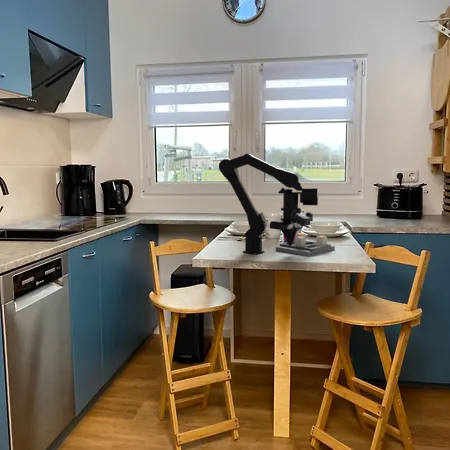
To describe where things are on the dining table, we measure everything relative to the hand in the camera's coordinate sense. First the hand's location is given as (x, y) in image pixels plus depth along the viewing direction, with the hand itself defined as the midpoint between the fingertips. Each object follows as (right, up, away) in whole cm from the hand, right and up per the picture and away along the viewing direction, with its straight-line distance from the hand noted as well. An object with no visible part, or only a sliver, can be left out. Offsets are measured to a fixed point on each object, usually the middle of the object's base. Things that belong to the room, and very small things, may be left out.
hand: (290, 245), depth 178 cm
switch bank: (+7, -2, +7) cm, 11 cm away
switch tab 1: (+6, 0, +13) cm, 15 cm away
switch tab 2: (+5, -1, +5) cm, 7 cm away
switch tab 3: (+14, -1, +6) cm, 15 cm away
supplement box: (+5, 0, +27) cm, 27 cm away
